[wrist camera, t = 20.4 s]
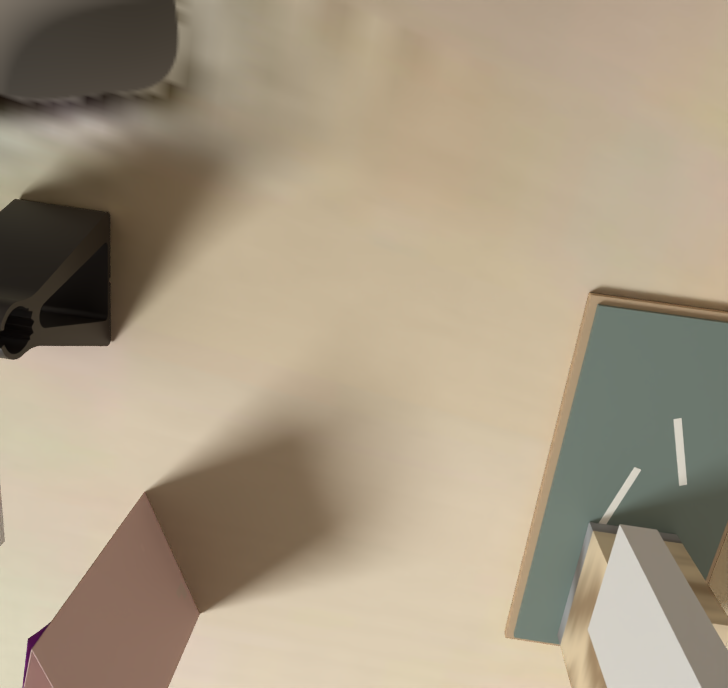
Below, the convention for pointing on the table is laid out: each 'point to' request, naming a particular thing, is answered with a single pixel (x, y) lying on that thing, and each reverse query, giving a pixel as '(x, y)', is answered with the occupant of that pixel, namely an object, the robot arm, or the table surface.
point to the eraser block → (585, 592)
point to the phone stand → (53, 277)
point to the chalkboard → (630, 447)
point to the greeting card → (119, 616)
